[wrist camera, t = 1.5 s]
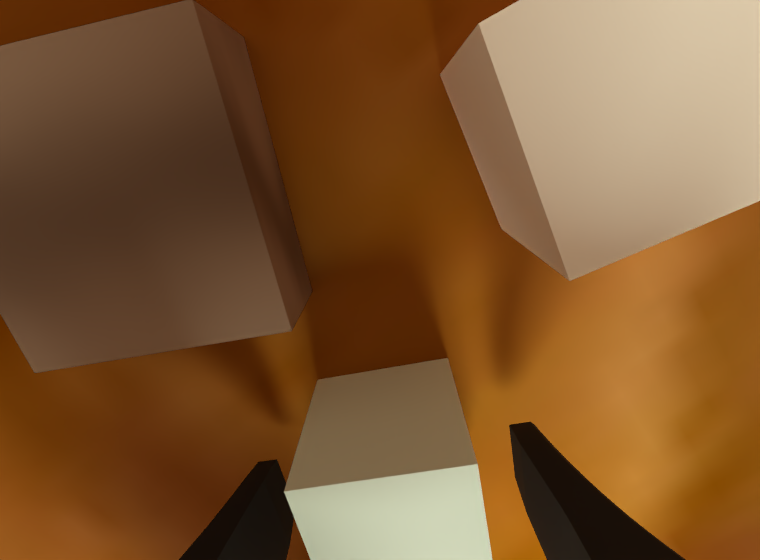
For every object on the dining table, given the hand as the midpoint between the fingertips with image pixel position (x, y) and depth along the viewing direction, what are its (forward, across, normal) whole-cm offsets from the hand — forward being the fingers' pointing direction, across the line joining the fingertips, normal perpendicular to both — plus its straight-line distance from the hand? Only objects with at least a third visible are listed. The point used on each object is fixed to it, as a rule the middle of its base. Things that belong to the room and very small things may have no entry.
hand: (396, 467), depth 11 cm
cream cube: (+2, -6, -9) cm, 11 cm away
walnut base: (+2, +5, -9) cm, 10 cm away
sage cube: (+2, 0, 0) cm, 2 cm away
